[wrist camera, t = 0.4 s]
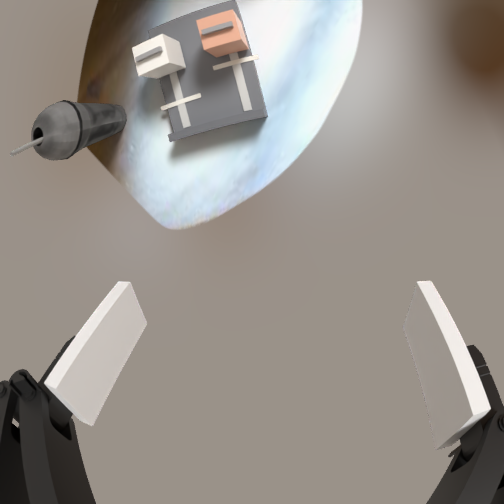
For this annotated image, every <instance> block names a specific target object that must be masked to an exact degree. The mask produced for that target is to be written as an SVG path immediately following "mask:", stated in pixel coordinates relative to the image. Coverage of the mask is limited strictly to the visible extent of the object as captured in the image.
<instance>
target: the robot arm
mask: <svg viewBox="0 0 504 504" xmlns="http://www.w3.org/2000/svg"><path fill="white" fill-rule="evenodd" d="M146 325H147V322H146V320H145V317H144V315H143V312H142V310H141V308H140V305H139V303H138V300H137V298H136V295H135V293H134V290H133V288H132V285H131V283H130V282H118V283H117V284H116V285H115V286H114V287H113V289H112V290H111V291H110V293H109V294H108V295H107V296H106V297H105V299H104V300H103V301H102V302H101V304H100V305H99V306H98V308H97V309H96V310H95V311H94V313H93V314H92V316H91V317H90V318H89V319H88V321H87V322H86V323H85V325H84V326H83V327H82V329H81V330H80V331H79V333H78V334H77V335H76V336H74V337H72V338H71V339H70V340H69V341H67V342H66V344H65V345H64V346H63V348H62V349H61V352H60V353H58V355H57V356H56V359H54V361H53V362H52V364H51V365H50V366H49V368H48V369H47V371H46V372H45V374H44V375H43V377H42V378H41V380H40V381H39V383H37V382H36V381H35V380H34V378H33V377H32V376H31V375H30V374H29V372H28V371H27V370H24V369H22V370H18V371H16V372H15V373H14V374H13V375H12V376H11V378H10V380H9V382H8V381H2V382H0V504H96V502H95V499H94V497H93V494H92V491H91V488H90V485H89V482H88V478H87V475H86V472H85V468H84V464H83V461H82V457H81V453H80V449H79V445H78V440H77V435H76V430H75V425H74V422H73V419H72V418H71V416H72V414H74V415H75V416H76V417H77V418H78V419H79V420H80V421H82V422H84V423H86V424H89V425H91V426H93V424H94V422H95V420H96V418H97V416H98V414H99V412H100V410H101V408H102V406H103V404H104V402H105V400H106V398H107V396H108V394H109V392H110V391H111V389H112V387H113V385H114V383H115V381H116V379H117V377H118V375H119V374H120V372H121V370H122V368H123V366H124V364H125V362H126V361H127V359H128V357H129V355H130V353H131V352H132V350H133V348H134V346H135V344H136V343H137V341H138V339H139V337H140V335H141V334H142V332H143V330H144V328H145V327H146ZM403 330H404V332H405V335H406V339H407V341H408V344H409V348H410V351H411V354H412V357H413V360H414V363H415V367H416V370H417V373H418V376H419V380H420V384H421V388H422V391H423V395H424V399H425V403H426V407H427V411H428V416H429V421H430V425H431V430H432V435H433V440H434V446H435V450H438V449H442V448H445V447H448V446H451V445H453V444H454V443H455V442H456V441H458V440H459V439H460V442H461V445H460V446H459V447H457V448H456V449H455V450H453V451H452V452H451V453H450V455H449V456H448V457H451V456H453V455H454V454H455V455H454V457H453V459H452V461H451V463H450V465H449V467H448V469H447V470H446V472H445V474H444V476H443V478H442V479H441V481H440V483H439V485H438V486H437V488H436V489H435V491H434V493H433V494H432V496H431V498H430V499H429V501H428V502H427V503H426V504H504V406H503V404H502V401H501V399H500V396H499V393H498V390H497V388H496V386H495V383H494V381H493V378H492V376H491V375H490V371H489V369H488V366H486V362H485V360H484V358H483V356H482V353H481V352H480V351H479V350H478V349H477V348H476V347H475V346H474V345H470V346H466V345H465V343H464V341H463V339H462V337H461V335H460V333H459V331H458V329H457V327H456V325H455V323H454V321H453V319H452V317H451V315H450V313H449V311H448V310H447V308H446V306H445V304H444V302H443V301H442V299H441V297H440V295H439V293H438V292H437V290H436V288H435V287H434V285H433V283H432V282H431V281H418V282H417V283H416V286H415V290H414V293H413V297H412V300H411V304H410V306H409V310H408V313H407V316H406V319H405V322H404V325H403ZM13 418H14V419H15V420H16V421H17V422H18V423H19V427H18V428H17V427H16V426H15V425H14V424H12V420H13Z"/></svg>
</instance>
